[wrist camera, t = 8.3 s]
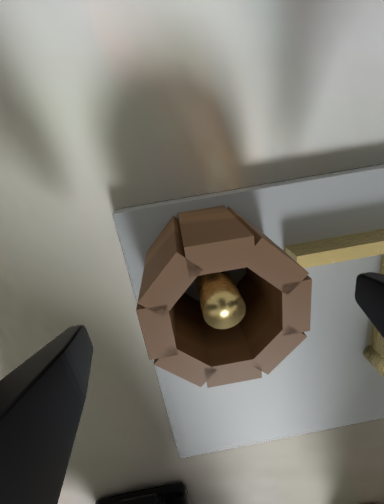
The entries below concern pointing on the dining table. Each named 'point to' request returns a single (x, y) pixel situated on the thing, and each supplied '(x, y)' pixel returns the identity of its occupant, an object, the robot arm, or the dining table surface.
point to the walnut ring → (250, 288)
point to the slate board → (318, 338)
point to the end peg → (220, 300)
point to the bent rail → (343, 249)
